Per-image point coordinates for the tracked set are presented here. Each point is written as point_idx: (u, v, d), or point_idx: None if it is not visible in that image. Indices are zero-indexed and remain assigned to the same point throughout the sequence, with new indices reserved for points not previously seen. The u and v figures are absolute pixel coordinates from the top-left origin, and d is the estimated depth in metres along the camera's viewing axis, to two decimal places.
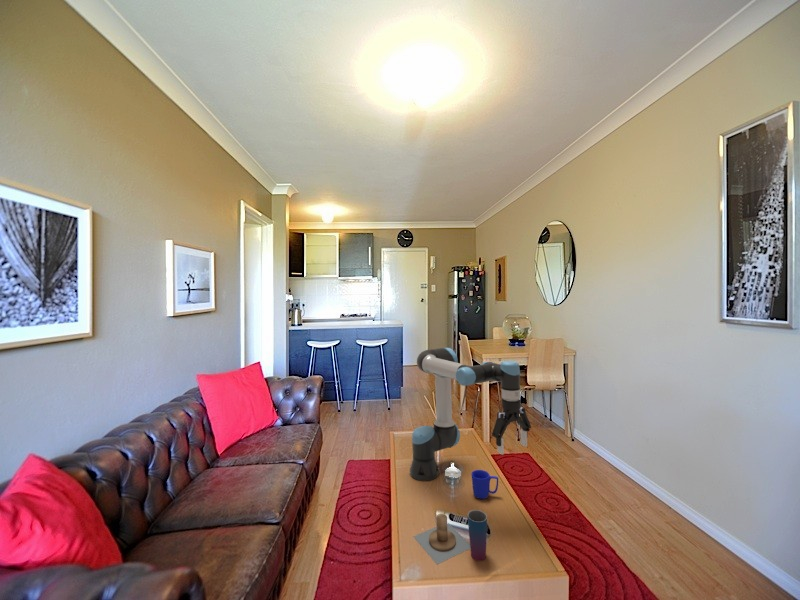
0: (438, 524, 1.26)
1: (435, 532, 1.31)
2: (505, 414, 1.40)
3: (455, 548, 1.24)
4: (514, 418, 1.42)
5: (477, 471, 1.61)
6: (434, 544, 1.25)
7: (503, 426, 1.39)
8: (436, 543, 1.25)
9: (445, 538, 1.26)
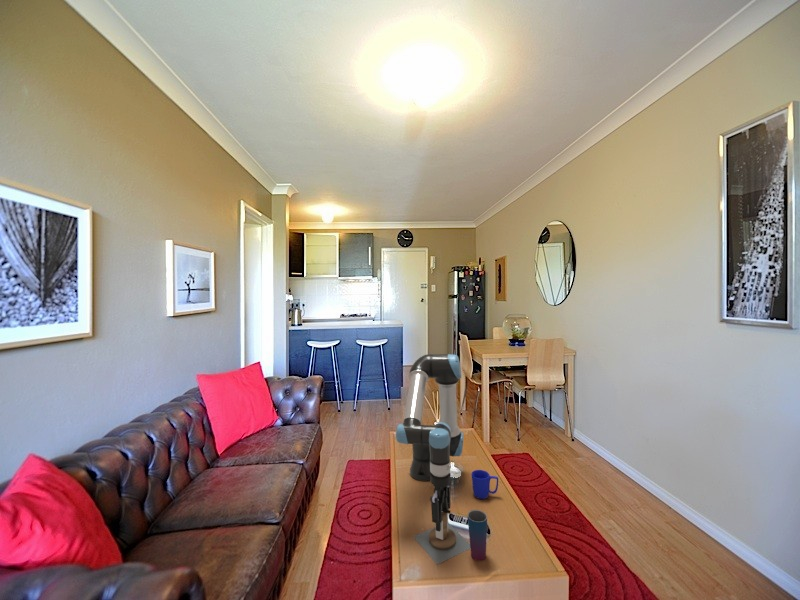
0: None
1: (435, 530, 1.31)
2: (437, 494, 1.24)
3: (455, 548, 1.24)
4: None
5: (477, 471, 1.61)
6: (434, 542, 1.25)
7: (439, 508, 1.25)
8: (436, 541, 1.25)
9: (445, 536, 1.26)
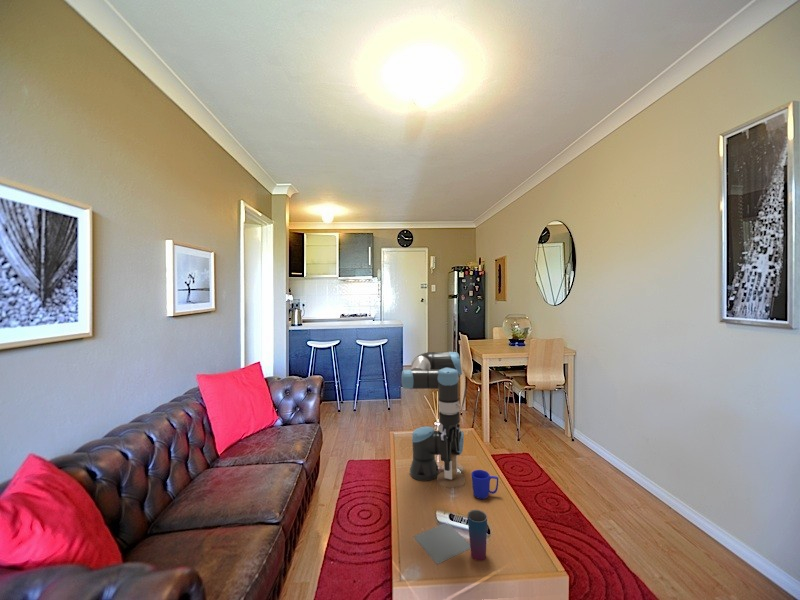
0: None
1: None
2: (446, 432, 1.21)
3: (455, 548, 1.24)
4: (453, 433, 1.25)
5: (477, 471, 1.61)
6: (443, 482, 1.22)
7: (448, 447, 1.22)
8: (445, 481, 1.22)
9: (454, 476, 1.23)
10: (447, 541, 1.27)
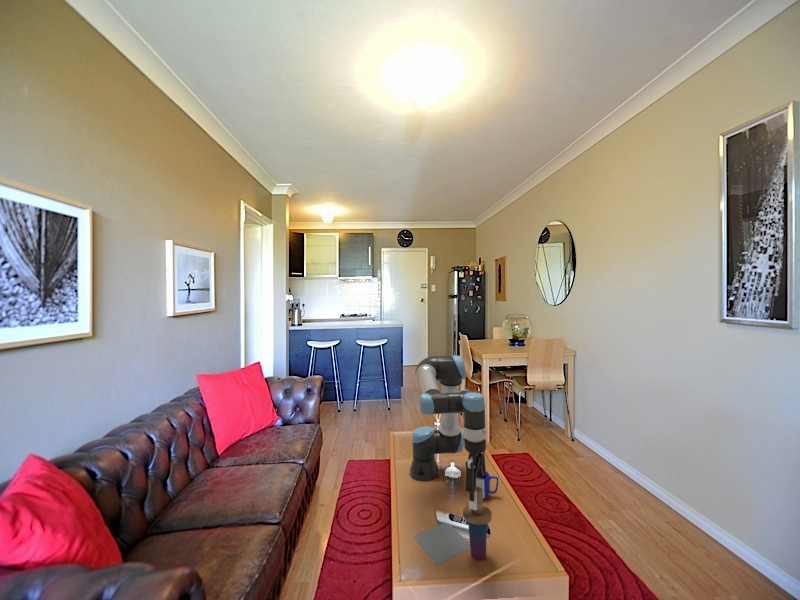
0: None
1: None
2: (473, 460, 1.16)
3: (455, 548, 1.24)
4: None
5: None
6: (469, 518, 1.17)
7: (473, 475, 1.17)
8: (471, 517, 1.18)
9: (481, 512, 1.19)
10: (447, 541, 1.27)
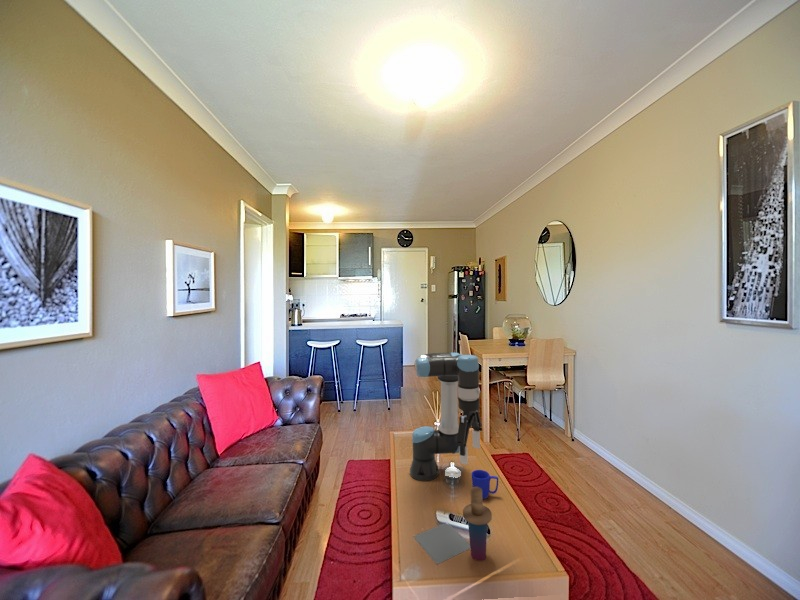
0: (473, 497, 1.19)
1: (469, 506, 1.24)
2: (467, 417, 1.21)
3: (455, 548, 1.24)
4: (472, 419, 1.25)
5: (477, 471, 1.61)
6: (469, 518, 1.17)
7: (466, 431, 1.20)
8: (471, 517, 1.18)
9: (481, 512, 1.19)
10: (447, 541, 1.27)
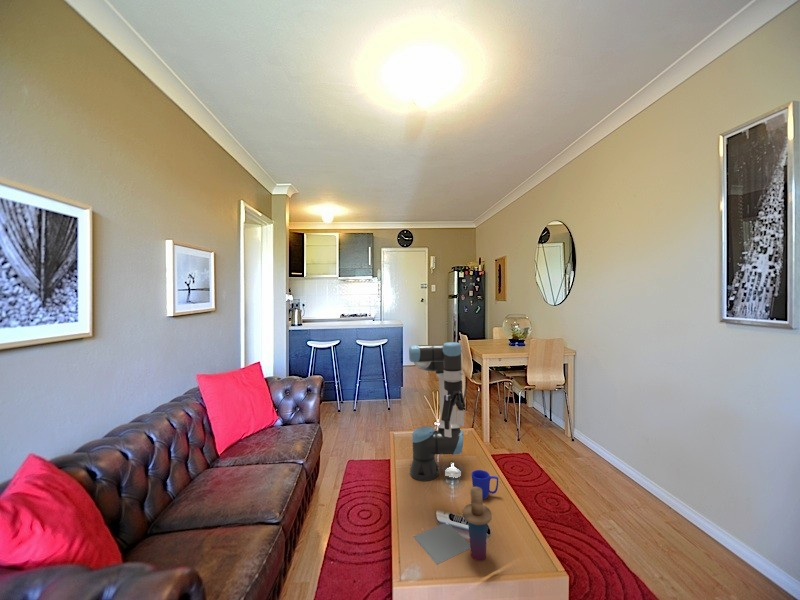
0: (473, 497, 1.19)
1: (469, 506, 1.24)
2: (451, 396, 1.38)
3: (455, 548, 1.24)
4: (456, 399, 1.42)
5: (477, 471, 1.61)
6: (469, 518, 1.17)
7: (450, 408, 1.37)
8: (471, 517, 1.18)
9: (481, 512, 1.19)
10: (447, 541, 1.27)
